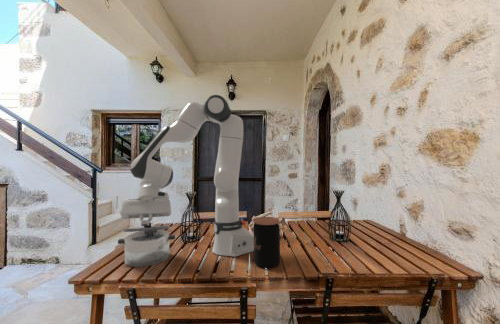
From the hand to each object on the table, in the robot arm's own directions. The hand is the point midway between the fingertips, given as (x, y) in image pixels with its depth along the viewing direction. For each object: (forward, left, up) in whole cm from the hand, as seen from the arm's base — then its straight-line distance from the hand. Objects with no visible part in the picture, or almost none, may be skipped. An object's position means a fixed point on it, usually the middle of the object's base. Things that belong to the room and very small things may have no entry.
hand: (144, 225), depth 102 cm
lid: (-2, -6, -4) cm, 8 cm away
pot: (-2, -6, -16) cm, 17 cm away
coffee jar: (-44, +25, -16) cm, 53 cm away
